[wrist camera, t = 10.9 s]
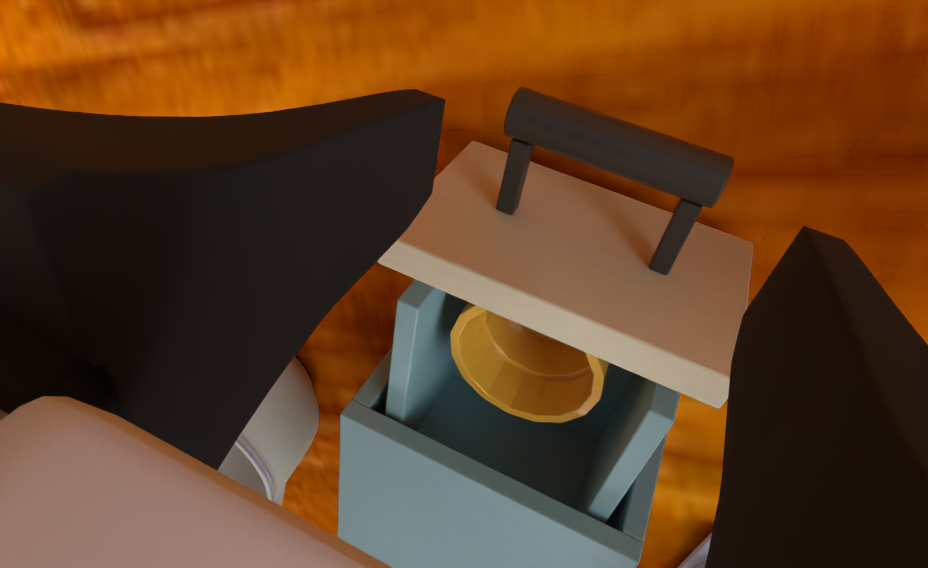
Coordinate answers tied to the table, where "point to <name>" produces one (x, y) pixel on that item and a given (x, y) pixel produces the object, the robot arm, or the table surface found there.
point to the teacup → (276, 435)
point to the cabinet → (466, 502)
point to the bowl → (525, 368)
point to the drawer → (570, 295)
